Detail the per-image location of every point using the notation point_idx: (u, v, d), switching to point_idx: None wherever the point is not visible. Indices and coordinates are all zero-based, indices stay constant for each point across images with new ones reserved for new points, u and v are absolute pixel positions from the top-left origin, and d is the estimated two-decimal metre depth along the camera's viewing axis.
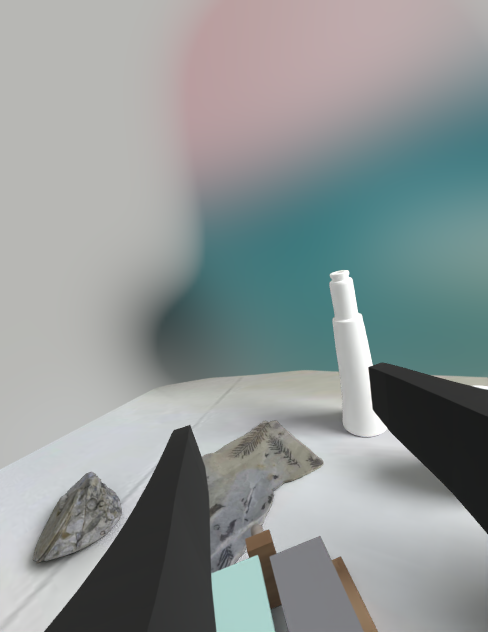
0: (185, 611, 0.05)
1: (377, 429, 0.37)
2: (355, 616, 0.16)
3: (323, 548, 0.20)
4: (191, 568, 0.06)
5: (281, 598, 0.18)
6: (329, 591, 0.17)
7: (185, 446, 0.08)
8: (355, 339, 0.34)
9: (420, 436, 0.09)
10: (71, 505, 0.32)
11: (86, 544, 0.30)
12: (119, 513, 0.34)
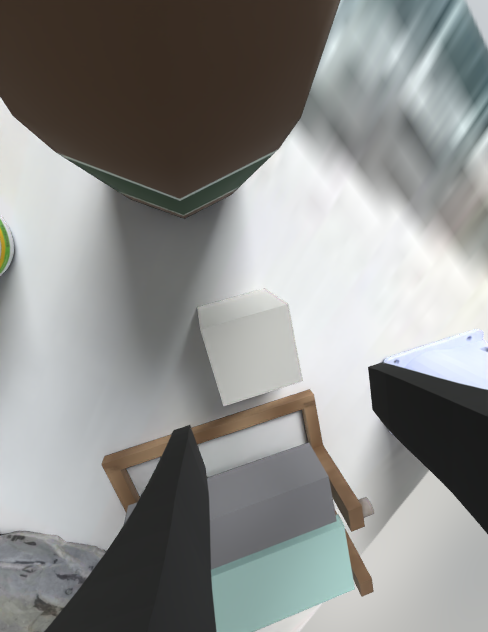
0: (185, 611, 0.05)
1: None
2: None
3: None
4: (191, 568, 0.06)
5: None
6: None
7: (185, 447, 0.08)
8: None
9: (420, 436, 0.09)
10: None
11: None
12: None
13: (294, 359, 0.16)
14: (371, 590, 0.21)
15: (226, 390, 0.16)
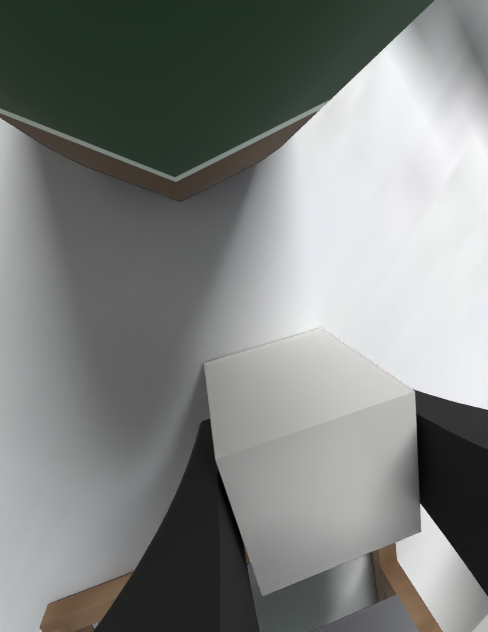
0: (237, 590, 0.05)
1: None
2: None
3: None
4: (234, 551, 0.06)
5: None
6: None
7: None
8: None
9: None
10: None
11: None
12: None
13: (411, 496, 0.08)
14: None
15: (269, 568, 0.07)
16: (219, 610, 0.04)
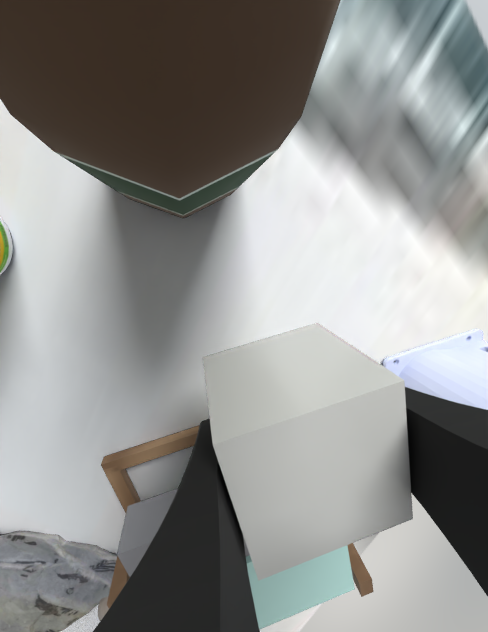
0: (237, 590, 0.05)
1: None
2: None
3: (133, 550, 0.16)
4: (234, 551, 0.06)
5: None
6: None
7: None
8: None
9: None
10: None
11: None
12: None
13: (402, 483, 0.08)
14: (371, 590, 0.21)
15: (265, 552, 0.08)
16: (219, 610, 0.04)
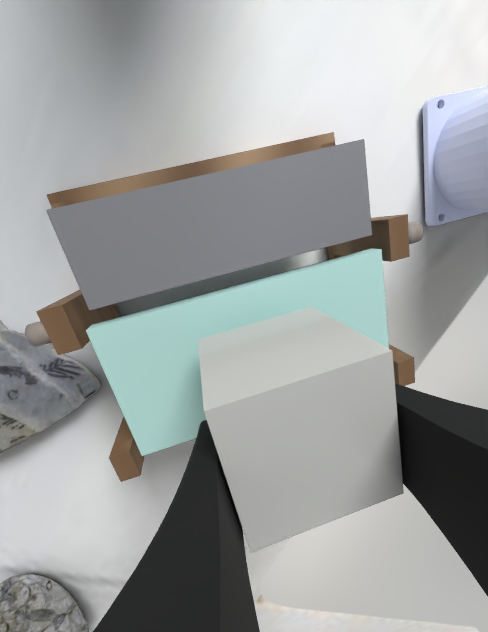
0: (237, 590, 0.05)
1: None
2: (173, 184, 0.11)
3: (71, 209, 0.10)
4: (234, 551, 0.06)
5: (150, 291, 0.12)
6: (142, 216, 0.11)
7: None
8: None
9: None
10: None
11: (68, 597, 0.22)
12: (14, 581, 0.21)
13: (393, 456, 0.08)
14: (412, 379, 0.16)
15: (257, 523, 0.08)
16: (219, 610, 0.04)
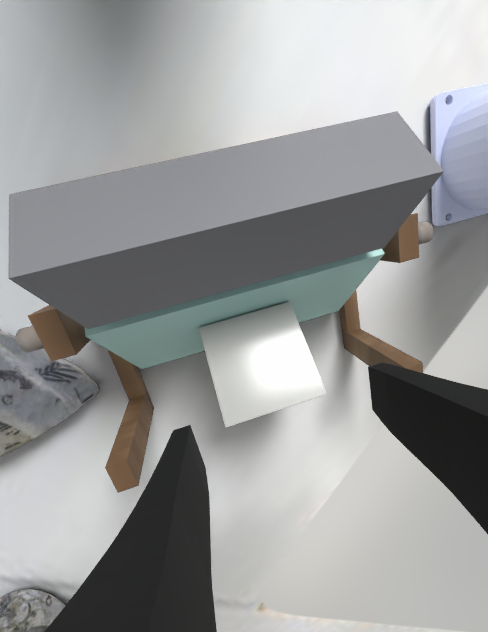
0: (185, 611, 0.05)
1: None
2: (188, 236, 0.08)
3: (46, 273, 0.07)
4: (191, 568, 0.06)
5: (152, 310, 0.11)
6: (144, 266, 0.09)
7: (185, 446, 0.08)
8: None
9: (420, 436, 0.09)
10: None
11: None
12: (13, 597, 0.20)
13: None
14: None
15: None
16: None
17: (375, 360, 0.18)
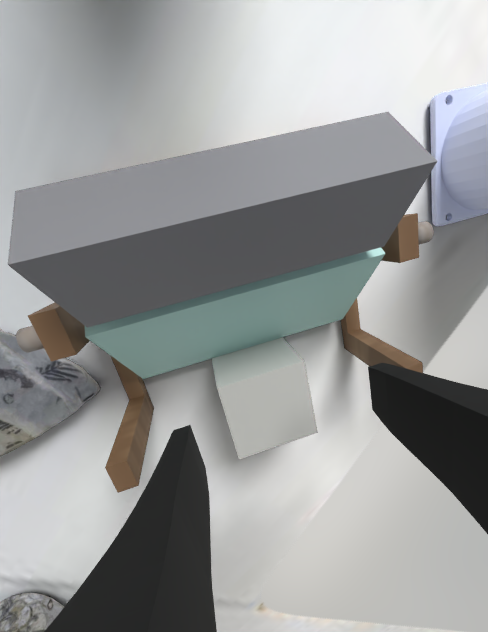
0: (185, 611, 0.05)
1: None
2: (184, 224, 0.08)
3: (45, 260, 0.08)
4: (191, 568, 0.06)
5: (152, 308, 0.11)
6: (142, 257, 0.09)
7: (185, 446, 0.08)
8: None
9: (420, 436, 0.09)
10: None
11: None
12: (15, 600, 0.21)
13: None
14: None
15: None
16: None
17: (375, 360, 0.18)
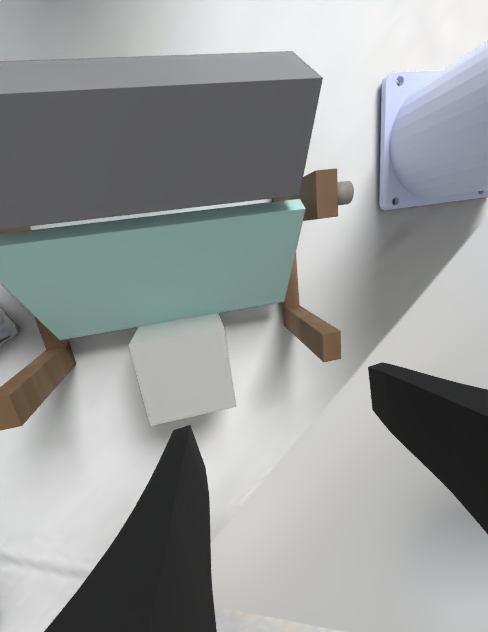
0: (185, 611, 0.05)
1: None
2: (42, 95, 0.08)
3: None
4: (191, 568, 0.06)
5: (38, 222, 0.10)
6: (3, 134, 0.08)
7: (185, 446, 0.08)
8: None
9: (420, 436, 0.09)
10: None
11: None
12: None
13: None
14: (338, 355, 0.15)
15: None
16: None
17: (303, 332, 0.17)
